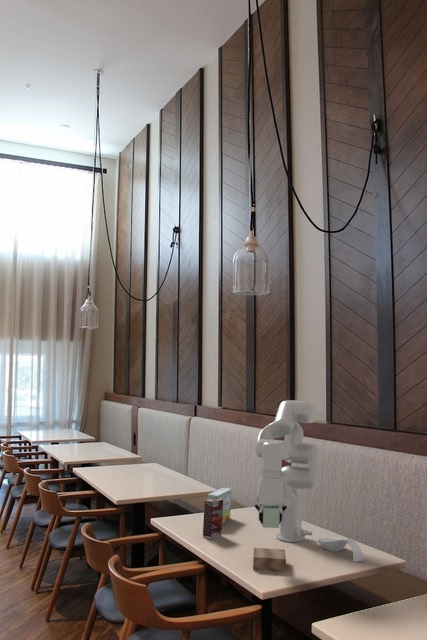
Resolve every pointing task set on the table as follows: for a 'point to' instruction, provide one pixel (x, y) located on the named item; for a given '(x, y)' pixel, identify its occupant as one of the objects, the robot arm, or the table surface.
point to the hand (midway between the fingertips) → (270, 522)
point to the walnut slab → (269, 560)
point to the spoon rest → (342, 546)
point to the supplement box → (213, 518)
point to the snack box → (226, 496)
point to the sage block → (271, 516)
